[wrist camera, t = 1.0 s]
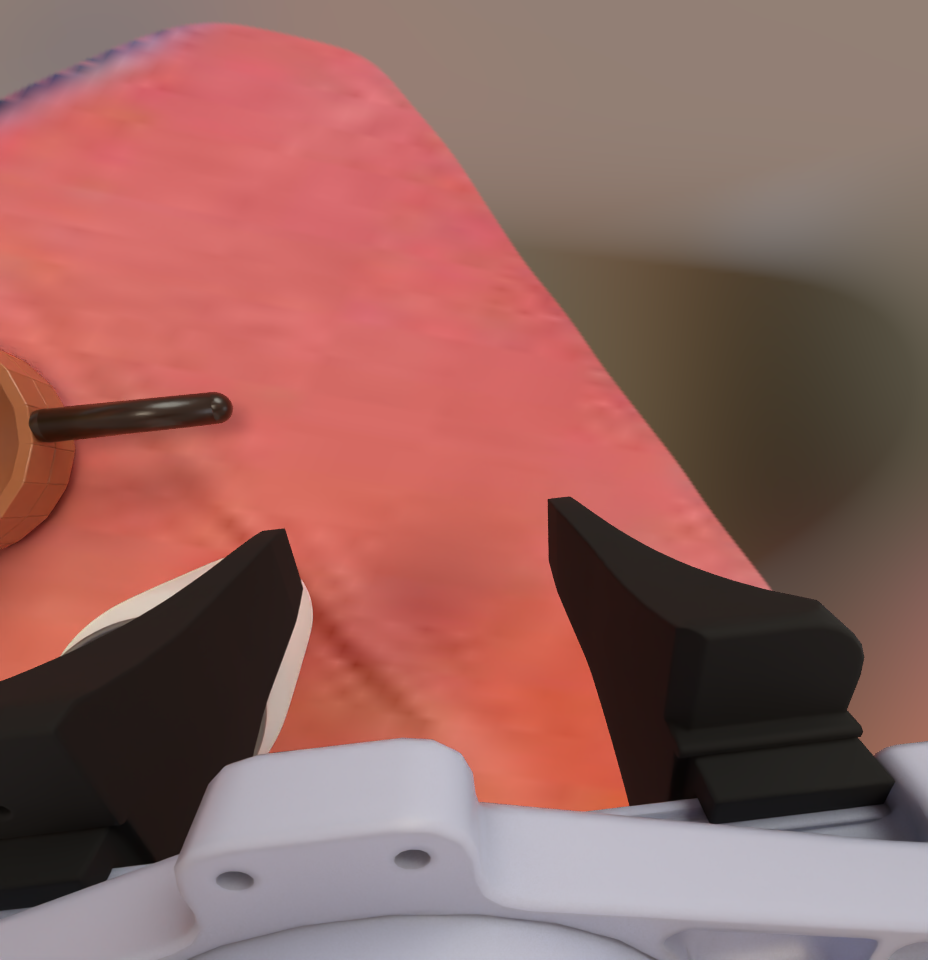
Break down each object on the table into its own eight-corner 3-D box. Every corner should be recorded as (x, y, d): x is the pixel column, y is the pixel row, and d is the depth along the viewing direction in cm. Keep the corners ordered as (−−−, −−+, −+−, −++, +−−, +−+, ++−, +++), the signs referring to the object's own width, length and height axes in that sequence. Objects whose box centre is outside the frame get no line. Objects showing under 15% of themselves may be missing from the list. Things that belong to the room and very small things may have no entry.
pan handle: (238, 424, 22) (230, 419, 21) (41, 446, 20) (19, 442, 19) (233, 394, 22) (225, 387, 21) (36, 414, 20) (13, 407, 19)
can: (149, 655, 23) (-60, 814, 11) (215, 531, 24) (86, 559, 12) (278, 701, 24) (211, 889, 12) (335, 582, 25) (324, 652, 13)
